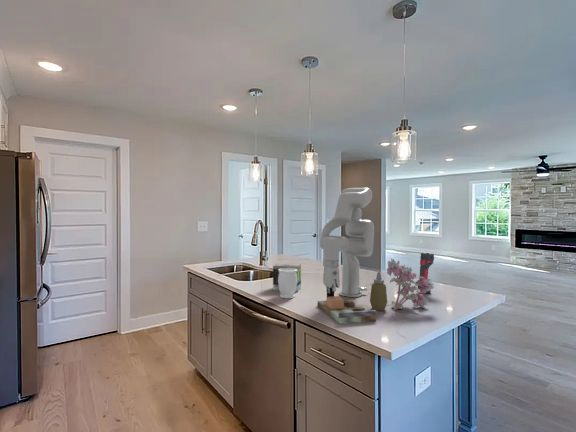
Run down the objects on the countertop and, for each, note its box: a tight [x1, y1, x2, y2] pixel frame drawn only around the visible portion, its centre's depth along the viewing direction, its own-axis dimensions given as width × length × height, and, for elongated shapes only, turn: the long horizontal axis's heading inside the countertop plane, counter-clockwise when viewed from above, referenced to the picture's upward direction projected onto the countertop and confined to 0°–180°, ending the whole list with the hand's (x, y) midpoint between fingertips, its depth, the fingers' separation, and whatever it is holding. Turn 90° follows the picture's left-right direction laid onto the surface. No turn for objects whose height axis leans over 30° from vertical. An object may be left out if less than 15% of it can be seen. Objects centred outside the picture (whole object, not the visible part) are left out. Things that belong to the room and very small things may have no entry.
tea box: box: [272, 263, 302, 293], centre depth 193 cm, size 15×10×15 cm, turn 76°
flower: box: [386, 257, 435, 311], centre depth 158 cm, size 20×22×25 cm
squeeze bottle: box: [369, 271, 388, 312], centre depth 156 cm, size 8×8×18 cm
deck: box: [317, 298, 377, 325], centre depth 149 cm, size 17×26×4 cm, turn 15°
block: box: [326, 295, 344, 309], centre depth 150 cm, size 6×6×4 cm
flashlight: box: [417, 252, 435, 294], centre depth 190 cm, size 8×8×23 cm
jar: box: [278, 268, 297, 299], centre depth 176 cm, size 11×10×15 cm
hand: (330, 301), depth 155 cm, fingers closed
